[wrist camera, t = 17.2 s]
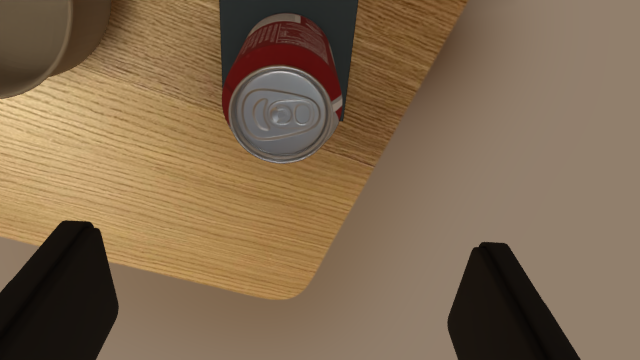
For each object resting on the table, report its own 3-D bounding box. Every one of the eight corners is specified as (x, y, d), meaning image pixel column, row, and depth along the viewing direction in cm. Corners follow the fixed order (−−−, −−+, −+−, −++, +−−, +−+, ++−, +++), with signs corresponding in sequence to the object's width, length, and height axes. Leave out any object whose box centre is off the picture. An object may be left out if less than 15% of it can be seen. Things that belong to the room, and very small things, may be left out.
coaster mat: (358, -8, 30) (359, -7, 30) (342, 119, 35) (343, 121, 35) (219, -21, 29) (218, -20, 29) (224, 111, 34) (223, 113, 34)
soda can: (239, 11, 30) (206, 54, 20) (331, 10, 30) (347, 51, 20) (248, 100, 34) (225, 175, 23) (331, 98, 34) (344, 171, 23)
